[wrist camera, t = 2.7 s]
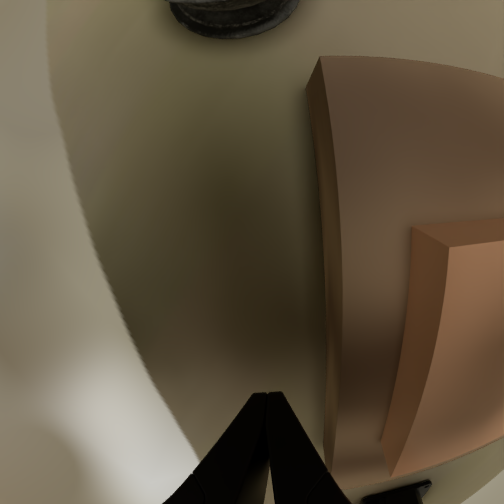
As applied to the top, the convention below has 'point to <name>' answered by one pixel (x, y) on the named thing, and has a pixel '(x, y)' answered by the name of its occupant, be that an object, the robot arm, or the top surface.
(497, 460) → the top surface
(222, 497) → the robot arm
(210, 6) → the dark grey chess piece
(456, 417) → the tile
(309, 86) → the board
